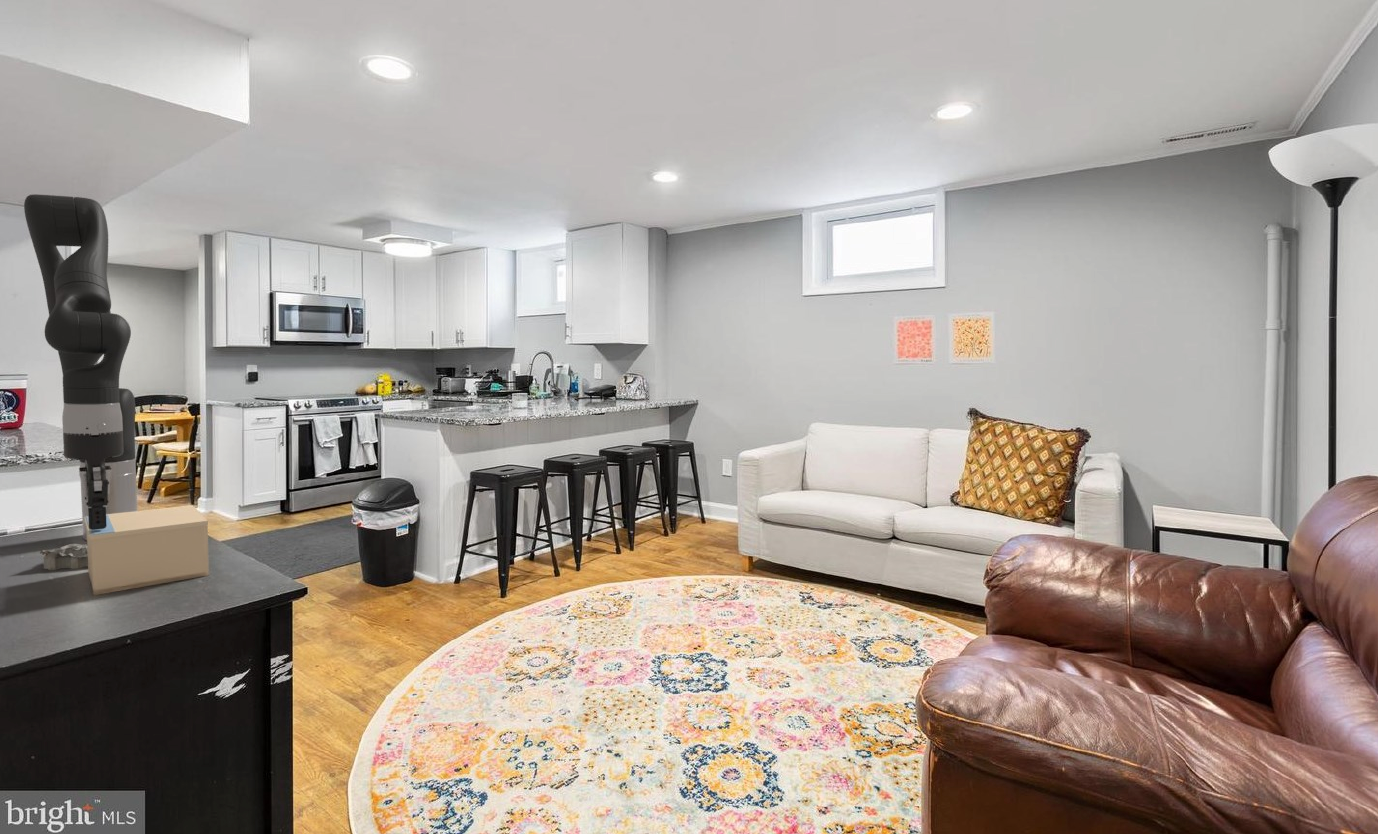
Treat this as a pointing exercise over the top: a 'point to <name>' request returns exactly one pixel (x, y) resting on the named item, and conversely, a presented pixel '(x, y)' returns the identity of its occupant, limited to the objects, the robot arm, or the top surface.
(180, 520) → the box lid
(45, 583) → the top surface
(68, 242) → the robot arm
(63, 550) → the egg carton
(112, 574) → the cardboard box
